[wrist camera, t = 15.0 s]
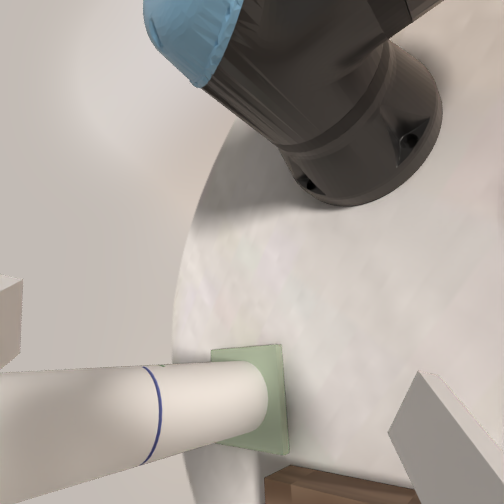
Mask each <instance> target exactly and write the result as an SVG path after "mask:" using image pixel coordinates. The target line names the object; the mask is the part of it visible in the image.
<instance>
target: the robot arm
mask: <svg viewBox="0 0 504 504" xmlns="http://www.w3.org/2000/svg"><path fill="white" fill-rule="evenodd" d="M442 1H444V0H143V15H144V23H145V27H146V30H147V33H148V36H149V38H150V40H151V42H152V43H153V45H154V46H155V48H156V49H157V50H158V51H159V52H160V53H161V54H162V55H163V56H164V57H165V58H166V59H167V60H169V61H170V62H171V63H172V64H173V65H174V66H175V67H176V68H177V69H178V70H179V71H181V72H182V73H183V74H184V75H185V76H186V77H187V78H188V79H189V80H190V82H191V83H192V84H193V86H195V87H197V88H201V89H202V90H204V91H205V92H206V93H208V94H209V95H211V96H212V97H213V98H214V99H216V100H217V101H218V102H220V103H221V104H222V105H223V106H225V107H226V108H227V109H229V110H230V111H231V112H233V113H234V114H235V115H236V116H238V117H239V118H240V119H242V120H243V121H244V122H246V123H247V124H248V125H249V126H251V127H252V128H253V129H255V130H256V131H257V132H259V133H260V134H261V135H263V136H264V137H265V138H266V139H268V140H269V141H271V142H272V143H273V144H274V145H276V146H277V147H278V149H279V151H280V153H281V155H282V156H283V158H284V160H285V162H286V164H287V166H288V168H289V170H290V172H291V173H292V175H293V177H294V179H295V180H296V182H297V183H298V184H299V185H300V186H301V187H302V188H303V189H304V190H305V191H307V192H308V193H309V194H311V195H312V196H314V197H315V198H317V199H318V200H320V201H322V202H325V203H328V204H331V205H337V206H353V205H359V204H364V203H367V202H370V201H373V200H376V199H378V198H380V197H382V196H384V195H386V194H388V193H390V192H391V191H393V190H395V189H396V188H398V187H399V186H400V185H402V184H403V183H404V182H405V181H407V180H408V179H409V178H410V177H411V176H412V175H413V174H414V173H415V172H416V171H417V170H418V169H419V168H420V166H421V165H422V164H423V163H424V161H425V160H426V158H427V157H428V155H429V154H430V152H431V150H432V149H433V147H434V145H435V143H436V140H437V138H438V135H439V132H440V128H441V124H442V114H443V110H442V101H441V97H440V94H439V92H438V89H437V86H436V84H435V81H434V79H433V77H432V75H431V74H430V72H429V71H428V69H427V68H426V67H425V66H424V65H423V64H422V63H421V62H420V61H418V60H417V59H415V58H414V57H413V56H411V55H410V54H408V53H407V52H406V51H404V50H403V49H401V48H400V47H399V46H397V45H396V44H394V43H393V42H391V41H390V40H389V38H391V37H392V36H393V35H395V34H396V33H398V32H399V31H401V30H402V29H403V28H405V27H406V26H408V25H409V24H411V23H413V22H414V21H415V20H417V19H418V18H419V17H421V16H422V15H424V14H425V13H427V12H428V11H429V10H431V9H432V8H434V7H435V6H437V5H438V4H439V3H441V2H442ZM22 293H23V279H19V278H15V277H11V276H6V275H2V274H0V369H2V368H3V367H4V366H5V365H6V364H8V363H9V362H10V361H11V360H12V359H14V358H15V357H16V356H17V355H18V354H19V353H20V342H21V319H22V317H21V316H22ZM388 435H389V437H390V439H391V441H392V443H393V445H394V447H395V449H396V451H397V453H398V456H399V458H400V460H401V462H402V464H403V466H404V468H405V470H406V472H407V474H408V477H409V479H410V481H411V483H412V485H413V487H414V489H415V491H416V493H417V495H418V497H419V500H420V502H421V504H504V452H503V451H502V450H501V449H500V447H499V446H498V445H497V444H496V443H495V441H494V440H493V439H492V438H491V437H490V435H489V434H488V433H487V432H486V431H485V430H484V428H483V427H482V426H481V425H480V424H479V422H478V421H477V420H476V419H475V418H474V416H473V415H472V414H471V413H470V412H469V410H468V409H467V408H466V407H465V406H464V404H463V403H462V402H461V401H460V400H459V398H458V397H457V396H456V395H455V394H454V393H453V391H452V390H451V389H450V388H449V387H448V385H447V384H446V383H445V382H444V381H443V379H442V378H441V377H440V376H439V375H435V374H431V373H426V372H422V371H418V372H417V374H416V376H415V378H414V380H413V382H412V384H411V386H410V388H409V390H408V392H407V394H406V396H405V398H404V400H403V402H402V404H401V406H400V408H399V410H398V413H397V415H396V417H395V419H394V421H393V423H392V425H391V427H390V429H389V431H388Z"/></svg>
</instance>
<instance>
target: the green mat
mask: <svg viewBox="0 0 504 504" xmlns="http://www.w3.org/2000/svg"><path fill="white" fill-rule="evenodd" d="M226 361H247V362H249V363H251V364H253V365H254V366H255V367H256V368H257V369H258V370H259V371H260V373H261V374H262V376H263V378H264V381H265V383H266V387H267V392H268V408H267V412H266V415H265V418H264V420H263V422H262V423H261V425H260V426H259V427H258V428H257V429H255V430H254V431H252V432H249V433H245V434H242V435H239V436H236V437H232V438H229V439H226V440H222V441H219V442H216V443H217V444H222V445H228V446H233V447H239V448H244V449H250V450H256V451H261V452H267V453H272V454H278V455H283V456H284V455H286V454H288V453H289V439H288V426H287V413H286V399H285V386H284V373H283V360H282V346H281V345H265V346H253V347H242V348H230V349H219V350H211V362H226Z"/></svg>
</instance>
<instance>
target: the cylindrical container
mask: <svg viewBox="0 0 504 504" xmlns="http://www.w3.org/2000/svg"><path fill="white" fill-rule="evenodd" d="M267 408H268V392H267V387H266V383H265V381H264V378H263V376H262V374H261V373H260V371H259V370H258V369H257V368H256V367H255V366H254V365H253V364H251V363H249V362H247V361H226V362H206V363H185V364H166V365H165V364H164V365H145V366H125V367H105V368H87V369H86V368H85V369H65V370H45V371H26V372H6V373H0V504H15V503H18V502H21V501H25V500H28V499H31V498H34V497H38V496H41V495H44V494H48V493H51V492H54V491H58V490H61V489H64V488H67V487H71V486H74V485H77V484H81V483H84V482H87V481H91V480H94V479H97V478H100V477H104V476H107V475H110V474H113V473H117V472H120V471H124V470H127V469H130V468H134V467H137V466H139V465H144V464H147V463H150V462H153V461H157V460H160V459H163V458H166V457H170V456H173V455H176V454H179V453H183V452H186V451H189V450H193V449H196V448H199V447H202V446H206V445H209V444H212V443H216V442H219V441H222V440H226V439H229V438H232V437H236V436H239V435H242V434H245V433H249V432H252V431H254V430H255V429H257V428H258V427H259V426H260V425H261V423H262V422H263V420H264V418H265V415H266V412H267Z"/></svg>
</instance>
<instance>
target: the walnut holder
mask: <svg viewBox="0 0 504 504" xmlns="http://www.w3.org/2000/svg"><path fill="white" fill-rule="evenodd" d="M264 485H265V504H421V502H420V500H419V497H418V495H417V493H416V491H415V490H413V489H408V488H403V487H398V486H393V485H388V484H383V483H378V482H373V481H368V480H363V479H358V478H353V477H348V476H343V475H338V474H333V473H328V472H323V471H318V470H313V469H308V468H303V467H298V466H293V465H289V466H287V467H285V468H283V469H281V470H279V471H277V472H275V473H273V474H271V475H269V476H267V477H265V478H264Z"/></svg>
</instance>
